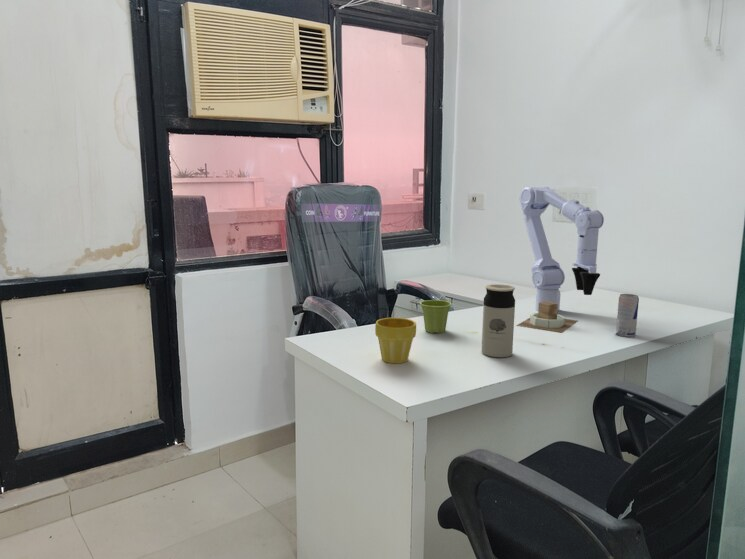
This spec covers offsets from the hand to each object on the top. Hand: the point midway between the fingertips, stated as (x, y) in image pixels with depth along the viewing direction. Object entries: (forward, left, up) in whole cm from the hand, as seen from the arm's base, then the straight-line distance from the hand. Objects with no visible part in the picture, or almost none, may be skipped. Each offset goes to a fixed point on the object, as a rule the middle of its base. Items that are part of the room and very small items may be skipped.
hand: (584, 292), depth 174 cm
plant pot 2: (+35, -34, -11) cm, 50 cm away
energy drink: (+5, +14, -11) cm, 18 cm away
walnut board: (+9, -8, -10) cm, 16 cm away
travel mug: (+45, -10, -11) cm, 47 cm away
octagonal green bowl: (+10, -8, -9) cm, 16 cm away
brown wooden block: (+10, -8, -9) cm, 15 cm away
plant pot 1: (+65, -29, -11) cm, 72 cm away
